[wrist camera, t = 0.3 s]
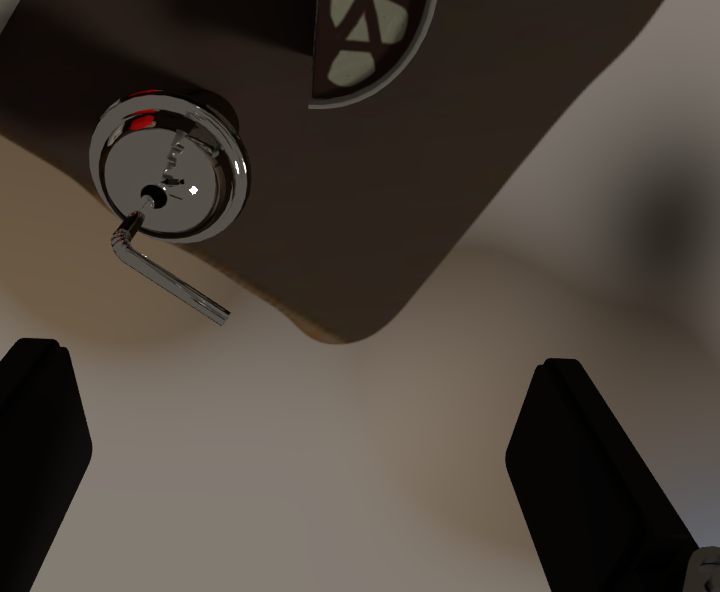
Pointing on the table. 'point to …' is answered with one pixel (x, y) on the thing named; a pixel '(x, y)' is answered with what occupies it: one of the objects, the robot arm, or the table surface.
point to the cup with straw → (170, 176)
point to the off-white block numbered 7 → (6, 11)
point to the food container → (363, 46)
